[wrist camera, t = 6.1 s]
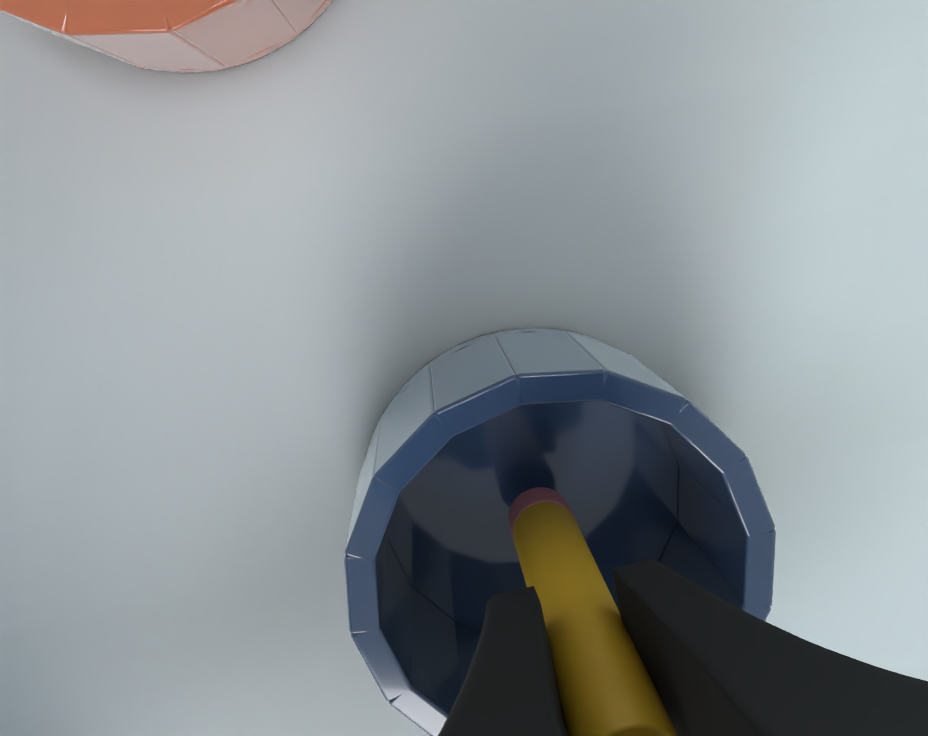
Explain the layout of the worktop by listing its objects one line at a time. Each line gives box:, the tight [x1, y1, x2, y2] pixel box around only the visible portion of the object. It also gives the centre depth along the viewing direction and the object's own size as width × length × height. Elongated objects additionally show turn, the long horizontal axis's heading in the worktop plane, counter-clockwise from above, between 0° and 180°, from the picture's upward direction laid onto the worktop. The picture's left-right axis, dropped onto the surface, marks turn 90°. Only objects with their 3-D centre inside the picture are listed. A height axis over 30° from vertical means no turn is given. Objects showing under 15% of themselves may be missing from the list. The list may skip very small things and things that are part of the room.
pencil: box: [508, 487, 678, 736], centre depth 12 cm, size 1×1×8 cm
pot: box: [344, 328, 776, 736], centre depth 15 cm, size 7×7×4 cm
